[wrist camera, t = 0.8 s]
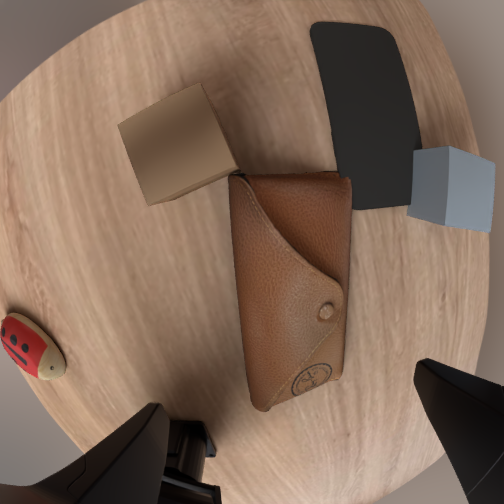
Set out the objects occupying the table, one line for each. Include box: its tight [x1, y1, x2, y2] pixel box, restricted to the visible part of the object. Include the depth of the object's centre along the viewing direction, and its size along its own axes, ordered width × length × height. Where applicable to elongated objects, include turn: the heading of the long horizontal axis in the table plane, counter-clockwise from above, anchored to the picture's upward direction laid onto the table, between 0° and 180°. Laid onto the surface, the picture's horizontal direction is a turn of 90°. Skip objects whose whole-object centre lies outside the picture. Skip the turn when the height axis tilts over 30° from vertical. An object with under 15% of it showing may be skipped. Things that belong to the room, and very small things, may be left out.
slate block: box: [407, 146, 495, 233], centre depth 16 cm, size 5×5×5 cm
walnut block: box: [118, 82, 241, 206], centre depth 15 cm, size 5×5×5 cm
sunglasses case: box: [228, 171, 352, 412], centre depth 19 cm, size 18×7×7 cm
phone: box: [310, 22, 422, 210], centre depth 17 cm, size 7×1×15 cm
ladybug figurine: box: [0, 313, 66, 380], centre depth 20 cm, size 7×10×4 cm
